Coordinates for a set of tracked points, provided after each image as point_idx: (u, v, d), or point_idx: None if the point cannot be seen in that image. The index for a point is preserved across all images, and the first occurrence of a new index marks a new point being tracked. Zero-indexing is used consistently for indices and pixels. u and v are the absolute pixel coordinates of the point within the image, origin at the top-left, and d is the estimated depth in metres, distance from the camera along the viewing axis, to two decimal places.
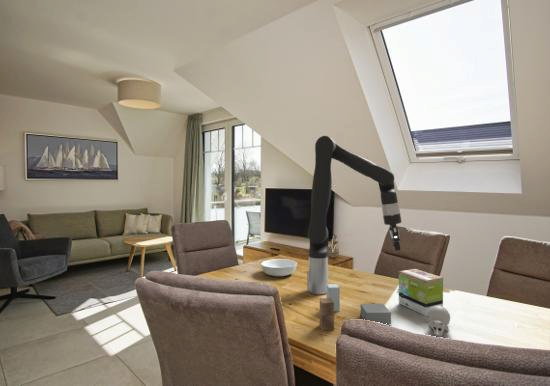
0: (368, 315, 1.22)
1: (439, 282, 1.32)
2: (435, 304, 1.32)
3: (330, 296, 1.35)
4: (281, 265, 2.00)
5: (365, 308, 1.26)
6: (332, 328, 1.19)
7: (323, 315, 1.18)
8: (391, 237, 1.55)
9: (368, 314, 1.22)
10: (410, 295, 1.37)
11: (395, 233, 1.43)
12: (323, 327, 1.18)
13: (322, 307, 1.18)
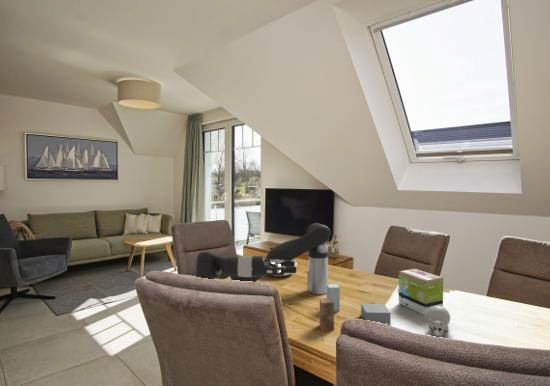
0: (367, 315, 1.22)
1: (439, 282, 1.32)
2: (435, 304, 1.32)
3: (330, 296, 1.35)
4: None
5: (365, 308, 1.26)
6: (332, 328, 1.19)
7: (323, 315, 1.18)
8: None
9: (367, 314, 1.22)
10: (410, 295, 1.37)
11: (273, 271, 1.13)
12: (323, 327, 1.18)
13: (322, 307, 1.18)
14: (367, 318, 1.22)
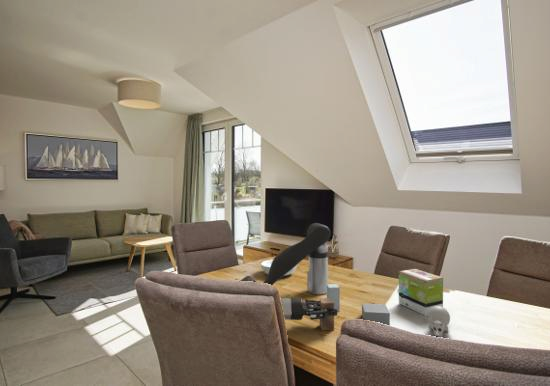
0: (366, 314, 1.23)
1: (439, 282, 1.32)
2: (435, 304, 1.32)
3: (330, 296, 1.35)
4: None
5: (365, 307, 1.27)
6: (332, 328, 1.19)
7: None
8: None
9: (366, 313, 1.23)
10: (410, 295, 1.37)
11: (317, 315, 1.14)
12: (323, 327, 1.18)
13: (322, 307, 1.18)
14: (366, 318, 1.23)
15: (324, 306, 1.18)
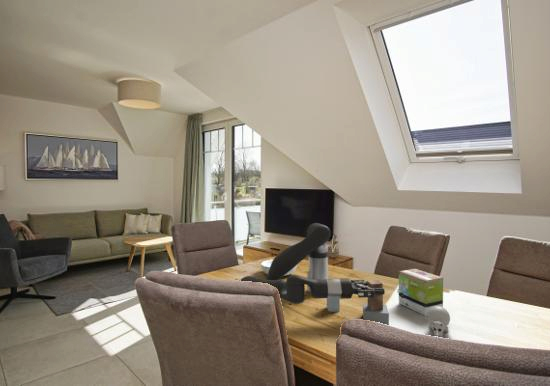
0: (365, 314, 1.23)
1: (439, 282, 1.32)
2: (435, 304, 1.32)
3: None
4: None
5: (364, 307, 1.27)
6: (381, 308, 1.25)
7: None
8: None
9: (365, 313, 1.23)
10: (410, 295, 1.37)
11: (365, 294, 1.19)
12: (373, 307, 1.24)
13: None
14: (365, 317, 1.23)
15: (373, 287, 1.24)
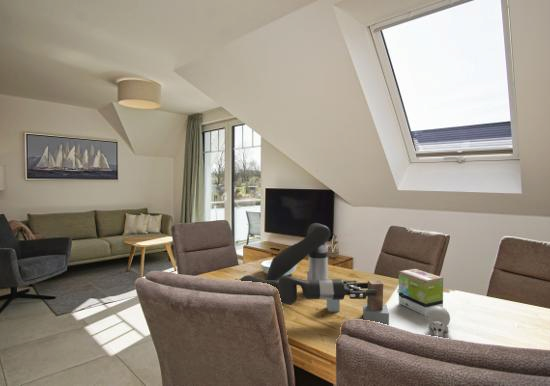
0: (365, 314, 1.23)
1: (439, 282, 1.32)
2: (435, 304, 1.32)
3: None
4: None
5: (364, 307, 1.27)
6: (381, 308, 1.25)
7: None
8: None
9: (365, 313, 1.23)
10: (410, 295, 1.37)
11: (356, 295, 1.19)
12: (372, 307, 1.24)
13: (372, 288, 1.24)
14: (365, 317, 1.23)
15: (374, 287, 1.24)
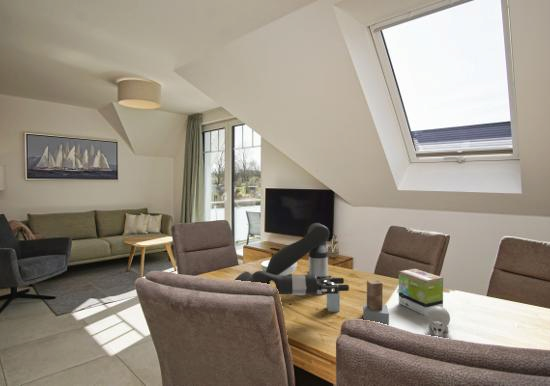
0: (365, 314, 1.23)
1: (439, 282, 1.32)
2: (435, 304, 1.32)
3: (330, 296, 1.35)
4: None
5: (365, 307, 1.27)
6: (380, 308, 1.25)
7: (373, 295, 1.24)
8: None
9: (365, 313, 1.23)
10: (410, 295, 1.37)
11: (328, 290, 1.19)
12: (372, 307, 1.24)
13: (371, 288, 1.24)
14: (365, 317, 1.23)
15: (373, 286, 1.24)
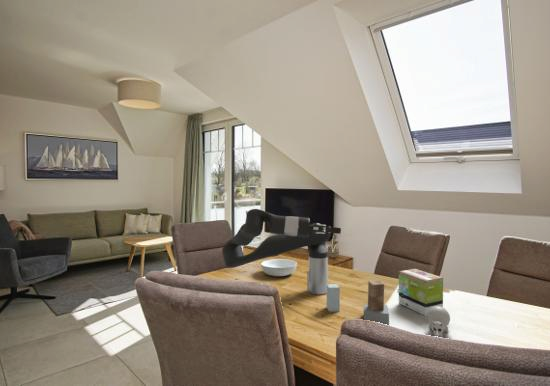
0: (365, 314, 1.23)
1: (439, 282, 1.32)
2: (435, 304, 1.32)
3: (330, 296, 1.35)
4: (281, 265, 2.00)
5: (365, 307, 1.27)
6: (382, 308, 1.24)
7: (374, 296, 1.24)
8: None
9: (365, 313, 1.23)
10: (410, 295, 1.37)
11: (319, 228, 1.20)
12: (373, 307, 1.24)
13: (373, 288, 1.24)
14: (365, 317, 1.23)
15: (375, 287, 1.24)
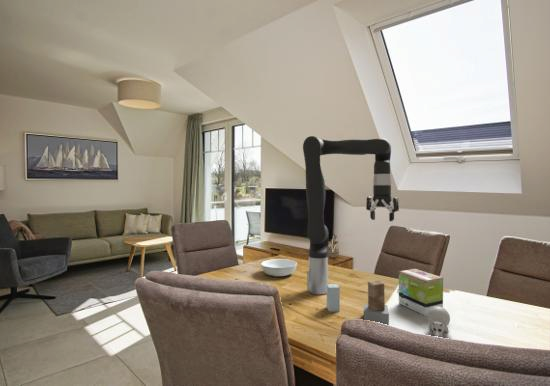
0: (365, 314, 1.23)
1: (439, 282, 1.32)
2: (435, 304, 1.32)
3: (330, 296, 1.35)
4: (281, 265, 2.00)
5: (365, 307, 1.27)
6: (383, 308, 1.24)
7: (375, 296, 1.24)
8: (371, 210, 1.49)
9: (365, 313, 1.23)
10: (410, 295, 1.37)
11: (396, 203, 1.42)
12: (375, 308, 1.24)
13: (374, 289, 1.23)
14: (364, 317, 1.23)
15: (375, 287, 1.23)
